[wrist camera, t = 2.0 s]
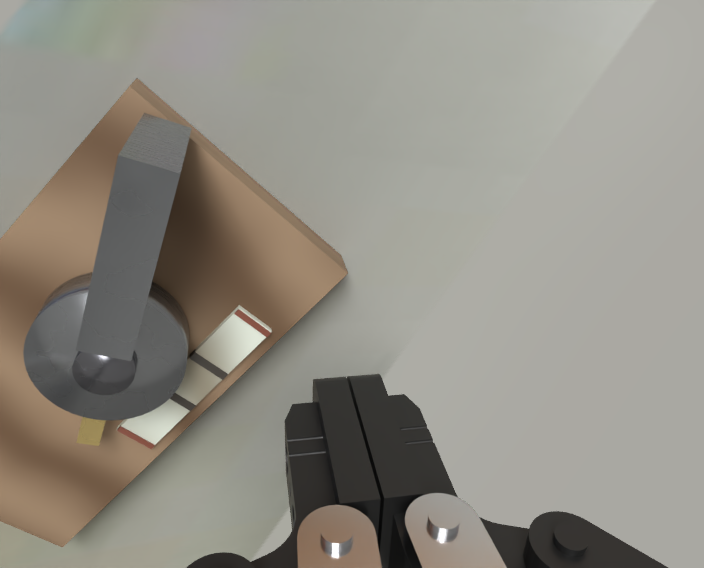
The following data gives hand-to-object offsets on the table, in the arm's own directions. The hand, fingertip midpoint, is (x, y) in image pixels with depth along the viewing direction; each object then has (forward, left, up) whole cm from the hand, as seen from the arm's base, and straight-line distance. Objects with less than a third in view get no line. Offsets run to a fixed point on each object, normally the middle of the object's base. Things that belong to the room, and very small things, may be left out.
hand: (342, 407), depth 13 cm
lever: (-8, +3, -13) cm, 16 cm away
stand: (-12, +2, -16) cm, 20 cm away
